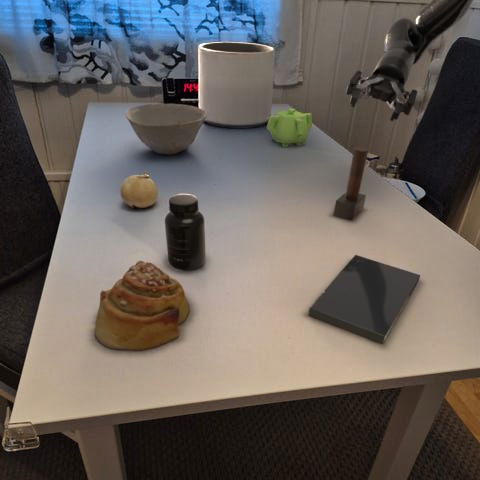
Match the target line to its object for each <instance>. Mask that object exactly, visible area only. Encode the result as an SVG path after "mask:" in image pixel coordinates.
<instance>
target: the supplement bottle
mask: <svg viewBox="0 0 480 480" xmlns="http://www.w3.org/2000/svg"><path fill="white" fill-rule="evenodd" d="M168 210H169V212H168V213H167V214H166V216H165V218H164V230H165V242H166V251H167V252H166V253H167V261H168V263H169V265H170V266H171V267H172V268H174V269H176V270H180V271H193V270H197V269H199V268H201V267H202V266H203V265H204V264H205V262H206V256H207V255H206V253H207V252H206V222H205V217H204V215H203V214H202V213H201V211H199V210H200V207H199V198H198V197H197V196H195V195H193V194H189V193H179V194H174V195H172V196H171V197H170V198H169V199H168Z"/></svg>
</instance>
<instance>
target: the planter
mask: <svg viewBox="0 0 480 480" xmlns="http://www.w3.org/2000/svg"><path fill="white" fill-rule="evenodd" d="M197 49H198V51H197V53H198V54H197V55H198V57H197V58H198V108H199V109H203V110H204V111H206V112H207V117H206V119H205V121H204V122H206V123H207V124H210V125H212V126H215V127H221V128H226V129H227V128H228V129H249V128H257V127H261V126H263V125H264V124H266V123H268V120H269V116H272V110H273V95H274V94H273V93H274V76H275V64H276V63H275V62H276V48H274V47H272V46H270V45H266V44H260V43H252V42H240V41H216V42H215V41H213V42H205V43H201V44H199V45H198V47H197Z"/></svg>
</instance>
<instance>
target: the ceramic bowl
mask: <svg viewBox="0 0 480 480" xmlns="http://www.w3.org/2000/svg"><path fill="white" fill-rule="evenodd" d="M124 114H125V118H126V119H127V121H128V123H129V125H130V126H131V127H132V129H133V131H134V134H135V135H136V136H137V138H138V140H140V142H141V143H142V144H144V145H145V146H146V147H148V148H149V149H150V150H152V151H154V152H155V153H157V154H159V155H167V156H168V155H175V154H178V153H181V152H184V151H185V150H186V149H188V148H189V147H191V145H192V144H193V143H194V142H195V140H196V139H197V136H198V134H199V131H200V130H201V127H202V126H203V124H204V122H206V121H205V119H206V117H207V112H206V111H204V110H203V109H199V107H197V106H194V105H189V104H181V103H177V104H176V103H147V104H142V105H138V106H137V105H136V106H133V107H131V108H128V109H127V110H126V111H125V112H124Z"/></svg>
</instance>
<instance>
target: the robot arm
mask: <svg viewBox="0 0 480 480" xmlns="http://www.w3.org/2000/svg"><path fill="white" fill-rule="evenodd" d="M473 2H474V0H431V1H429V2H428V3H427V4H426V5H425V6H424V7H423V8H421V10H420V11H419V12H418V14H417V15H416V18H415V22H414V21H413V20H412V19H411V18H409V17H402V18H399V19H397V20H396V21H394V22H393V23H392V24H391V25H390V27H389V28H388V30H387V32H386V34H385V36H384V41H383V42H384V43H383V55H382V56H381V58H380V59H379V60H378V62H377V64H376V66H375V67H374V70H373V71H372V73H371V75H369V76H368V77H366V76H364V75H362V74H363V72H362V71H361V70H356V72H355V73H354V74H353V76H352V77H351V78H350V80H349V81H348V84H347V88H346V91H345V94H346V95H349V96H350V99H349V105H350V107H351V108H355V107H356V105H357V103H358V101H359V99H363V100H367V99H371V98H372V99H376V100H380V101H382V102H384V103H386V104H387V106H388V107H389V108H390V109H392V110H393V112H392V114H391V117H390V119H389V121H390V122H394V120H395V121H396V120H397V121H398V119H399V117H400V115H401V113H403V114H404V115H406V116H409V115H410V114H411V111H412V109H413V107H414V105H415V103H416V99H417V96H418V90H417V89H411V91H407V90H405V86H406V83H407V81H408V80H409V76H410V74H411V71H412V67H413V65H416V64H417V63H418V62H420V61H421V59H422V58H423V57H424V56H425V54H426V53H427V51H428V50H429V49H430V47H431V46H432V45H433V44H434V43H435V41H436V40H437V39H438V38H440V37H441V36H442V35H443V34H445V33H446V32H448V31H449V30H450V29H451V28H453V27H454V26H455V25H456V24H458V23H459V22H460V21H461V20H462V19H463V18H464V17H465V16H466V14H467V13H468V11H470V8H471V7H472V5H473Z"/></svg>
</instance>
